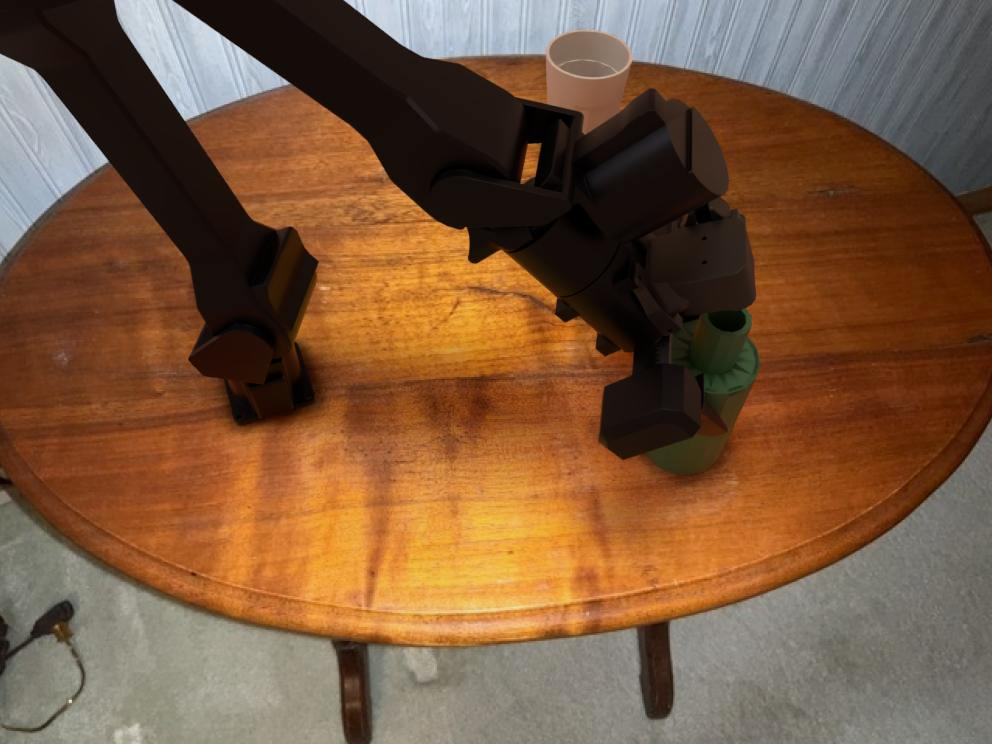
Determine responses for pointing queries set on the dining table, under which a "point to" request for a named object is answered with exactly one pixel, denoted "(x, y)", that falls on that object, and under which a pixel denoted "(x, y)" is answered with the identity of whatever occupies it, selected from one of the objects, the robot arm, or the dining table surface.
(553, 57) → the cup
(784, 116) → the dining table surface
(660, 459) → the bottle
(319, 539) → the dining table surface
